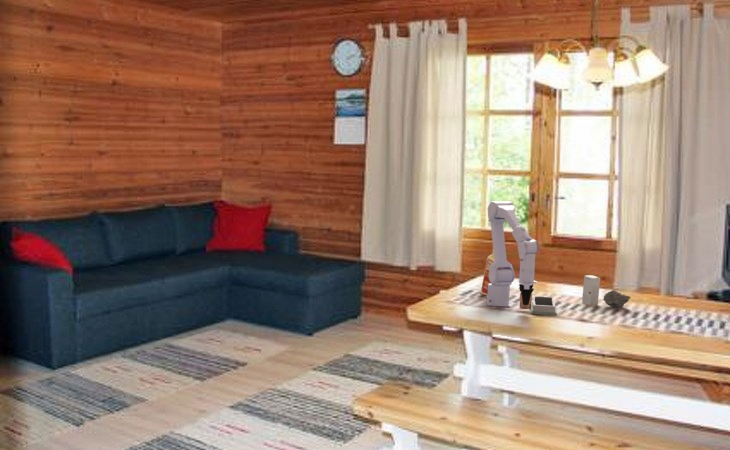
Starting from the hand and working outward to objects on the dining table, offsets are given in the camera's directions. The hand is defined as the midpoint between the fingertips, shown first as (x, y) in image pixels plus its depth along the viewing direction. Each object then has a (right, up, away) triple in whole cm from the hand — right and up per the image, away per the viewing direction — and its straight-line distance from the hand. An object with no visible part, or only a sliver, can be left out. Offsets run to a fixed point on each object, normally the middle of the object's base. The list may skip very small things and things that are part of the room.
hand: (525, 303), depth 283 cm
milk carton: (-5, 0, +38) cm, 39 cm away
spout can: (0, -2, 0) cm, 2 cm away
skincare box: (+33, -3, +22) cm, 40 cm away
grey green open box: (+9, -4, +7) cm, 12 cm away
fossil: (+42, -4, +15) cm, 45 cm away
